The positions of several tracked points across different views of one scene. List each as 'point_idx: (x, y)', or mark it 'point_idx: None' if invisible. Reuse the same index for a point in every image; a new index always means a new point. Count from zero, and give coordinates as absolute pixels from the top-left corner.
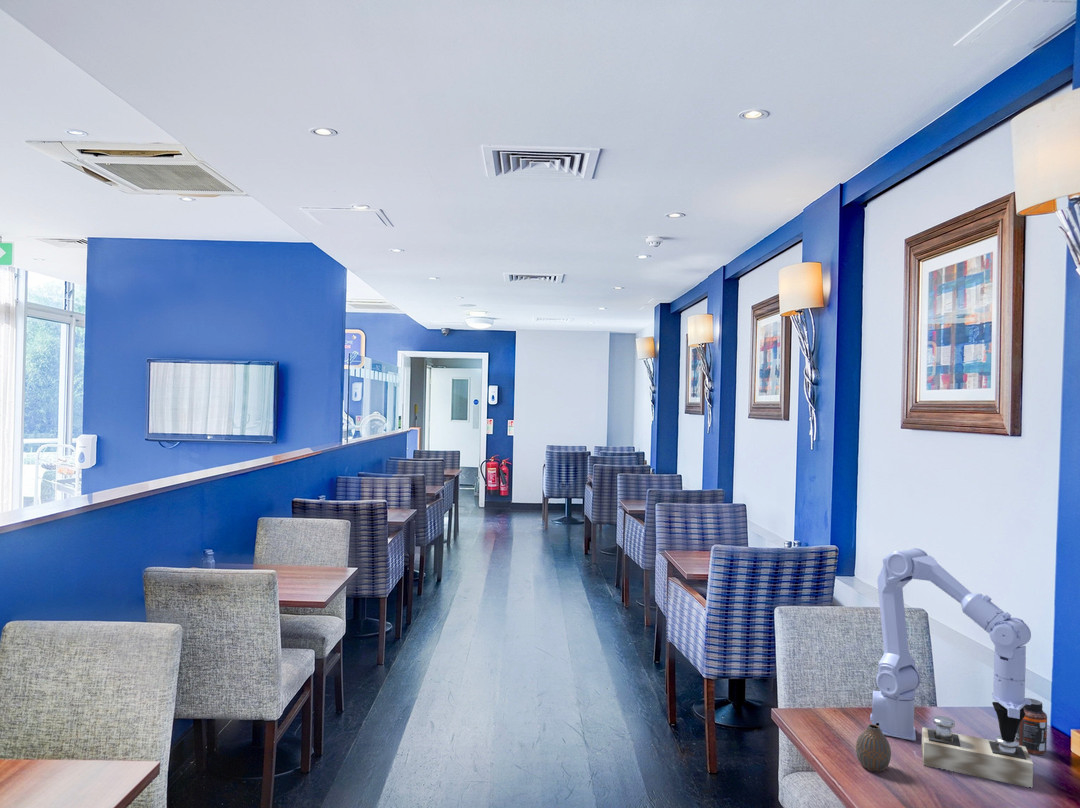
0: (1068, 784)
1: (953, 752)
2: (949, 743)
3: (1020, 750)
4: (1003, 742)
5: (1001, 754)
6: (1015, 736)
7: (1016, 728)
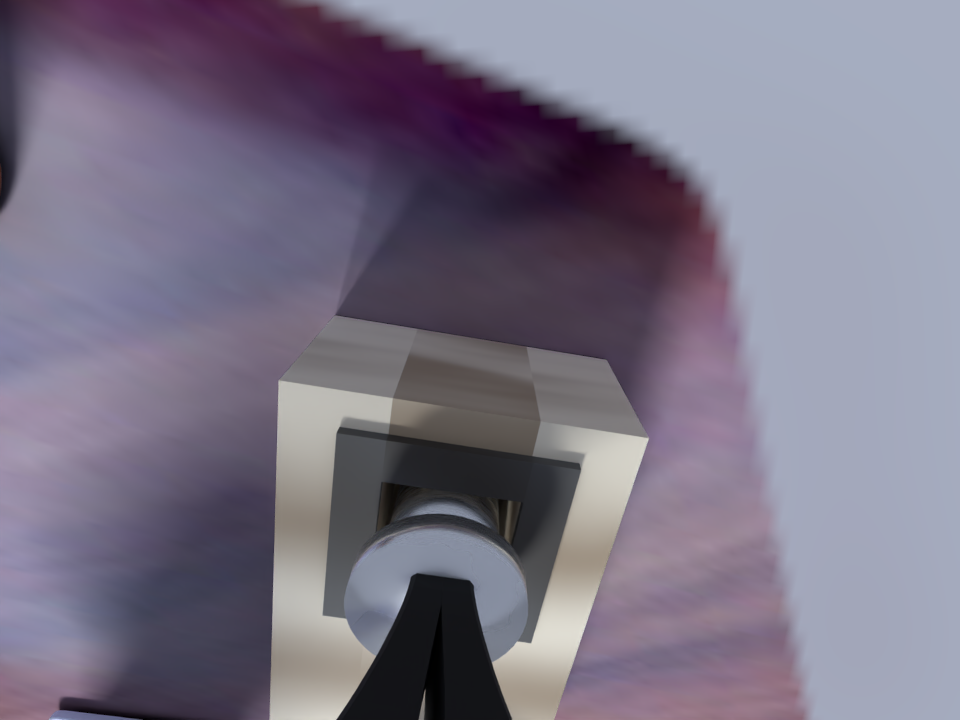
0: (465, 83)
1: None
2: None
3: (425, 463)
4: (508, 648)
5: (543, 596)
6: (474, 618)
7: (505, 717)
